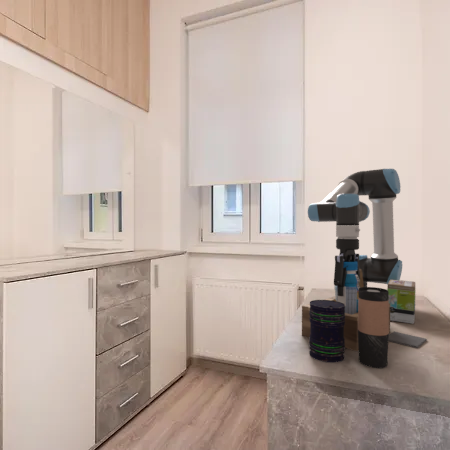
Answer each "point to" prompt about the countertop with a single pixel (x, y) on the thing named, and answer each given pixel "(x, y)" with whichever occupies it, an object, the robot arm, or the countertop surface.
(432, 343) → the countertop surface
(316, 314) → the storage jar
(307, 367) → the countertop surface
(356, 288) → the beverage bottle
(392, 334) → the charcoal mat
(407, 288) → the tea box
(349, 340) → the walnut box
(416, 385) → the countertop surface
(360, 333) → the travel mug
